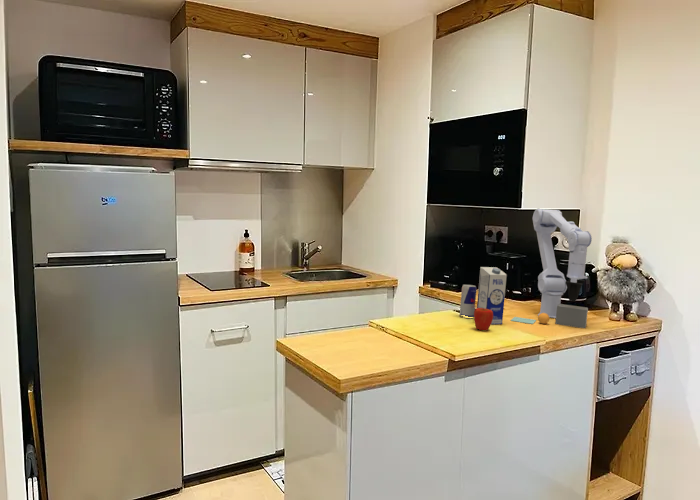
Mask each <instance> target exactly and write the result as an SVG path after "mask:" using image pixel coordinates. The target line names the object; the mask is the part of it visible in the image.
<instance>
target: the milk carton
mask: <svg viewBox="0 0 700 500" xmlns="http://www.w3.org/2000/svg"><path fill="white" fill-rule="evenodd" d="M479 269H480V270H479V281H478V282H479V283H478V291H477V303H476V309H477V308H484V309H489V310H492V311H493V320H492V323H491V325H503V319H504V307H505V299H506V298H505V296H506V288H507V287H506V286H507V277H508V274H507V273H505V272H504V271H503V270H501V269H500V268H498V267H496V266H495V267H494V266H493V267H492V266H491V267H489V266H480V268H479Z"/></svg>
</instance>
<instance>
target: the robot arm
mask: <svg viewBox="0 0 700 500" xmlns="http://www.w3.org/2000/svg"><path fill="white" fill-rule="evenodd" d="M532 223H533V225H532V226H533V230H534V231H535V232H536V237H537V242H538V248H539V254H540V258H541V260H540V261H541V264H542V269H543V270H542V272H540V273H539V275H538V276H537V280H538V281H537V288H538V290H539V292H540V293H541V301H540V311H539V313H538V314H537V316H539V314H541V313H546V314H547V315H548V316H549V318H554V319H556V312H557V305H558V304H562V303H561V302H562V301H561V300H562V296H564V294H565V293H566V291H568V292H567V293H568V300H569V302H574V303H575V302H576V301H577V300H578V298H579V294H580V291H581V289H582V286H583V284H584V283H585V280H586V279H588V276H586V275H585V273H586V272H585V271H586V264H587V263H586V262H587V252H588V247H590V246H591V244H592V238H593V237H592V234H591V233H590V231H588V230H587V231H586V230H585V231H584V230H583V229H581V228H580V227H578V225H576V224H575V223H576V222H574V221H567V220H566V218H565V217H564V216H563V212H562V211H561V210H559V209H547V208H545V209H544V208H536V209H535V210H534V211H533V215H532ZM557 228H559V231H560V233H561V235H563V236H564V238H565V239H566V240H567V244H568V251H569V256H568V267H567V273H566V277H565V274H564V273H563V272H561V271H560V270H559V269H558V266H557V262H556V257H555V251H554V245H553V241H552V233H555V231H556V230H557ZM566 278H569V279H568V281H567V280H566ZM584 279H585V280H584Z"/></svg>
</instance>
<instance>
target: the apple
mask: <svg viewBox="0 0 700 500" xmlns="http://www.w3.org/2000/svg"><path fill="white" fill-rule="evenodd" d="M492 320H493V311H492V310H489V309H484V308H477V307H476V308H475V311H474V318H473V321H474V326H475V329H476V330H477V329H479V330H478V331H481V330H486V331H489V329H490V327H491V325H492V324H491V323H492Z"/></svg>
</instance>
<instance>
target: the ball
mask: <svg viewBox="0 0 700 500" xmlns="http://www.w3.org/2000/svg"><path fill="white" fill-rule="evenodd" d="M538 314H539V313H538ZM537 316H538V315H537ZM537 321H538V322H539V323H540V324H542V325H543V324H545V325H546V324H548V323H549V321H550V317H549V316H548V315H547V314H546V313H541V314H539V316H538V317H537Z"/></svg>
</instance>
